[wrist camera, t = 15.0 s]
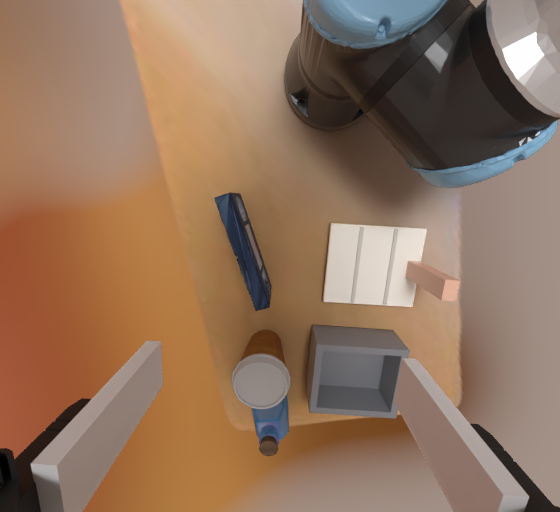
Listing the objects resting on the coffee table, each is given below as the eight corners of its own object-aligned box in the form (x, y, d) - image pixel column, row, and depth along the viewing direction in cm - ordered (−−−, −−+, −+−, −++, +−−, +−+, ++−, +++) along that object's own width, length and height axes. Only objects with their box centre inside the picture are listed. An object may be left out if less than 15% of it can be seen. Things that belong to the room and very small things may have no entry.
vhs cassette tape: (272, 286, 50) (270, 308, 40) (257, 290, 50) (251, 313, 40) (243, 192, 46) (232, 190, 36) (227, 196, 46) (212, 196, 36)
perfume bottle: (259, 408, 56) (253, 464, 44) (255, 384, 55) (247, 435, 43) (288, 405, 56) (289, 461, 44) (284, 381, 54) (284, 431, 43)
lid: (329, 222, 47) (346, 231, 34) (420, 227, 47) (471, 239, 34) (322, 297, 50) (335, 331, 38) (407, 302, 50) (449, 338, 38)
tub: (312, 324, 51) (316, 344, 45) (392, 330, 51) (409, 350, 45) (306, 385, 54) (309, 412, 48) (381, 390, 55) (396, 418, 48)
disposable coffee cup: (253, 370, 54) (244, 419, 42) (234, 331, 52) (220, 371, 40) (295, 356, 53) (299, 401, 41) (278, 315, 51) (277, 351, 39)
